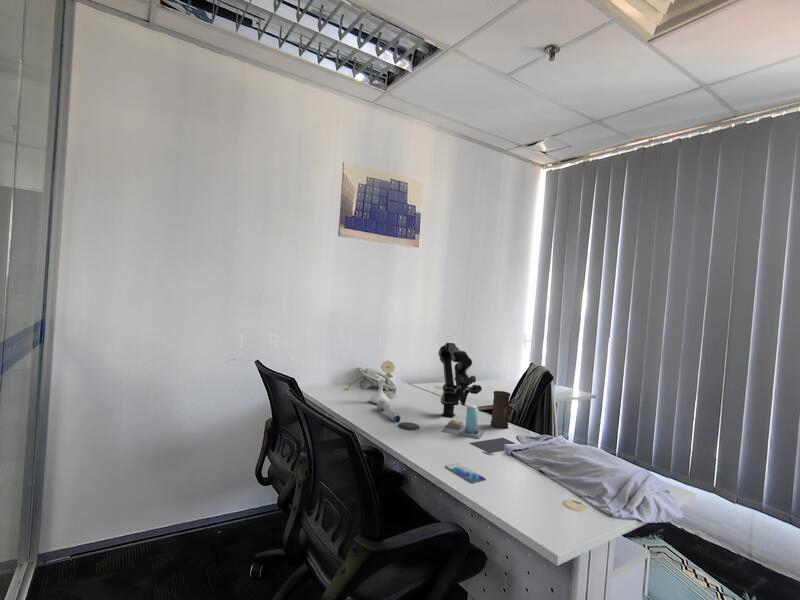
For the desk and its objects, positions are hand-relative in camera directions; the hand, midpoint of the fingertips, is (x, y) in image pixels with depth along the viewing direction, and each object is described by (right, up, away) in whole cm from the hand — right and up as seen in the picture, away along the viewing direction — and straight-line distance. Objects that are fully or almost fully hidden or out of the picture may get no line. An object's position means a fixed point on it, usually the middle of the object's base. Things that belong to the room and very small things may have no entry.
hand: (463, 405), depth 202 cm
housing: (-1, -12, -4) cm, 13 cm away
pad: (-27, -10, -2) cm, 28 cm away
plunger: (-4, -11, +2) cm, 11 cm away
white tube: (-37, -9, +15) cm, 41 cm away
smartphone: (-7, -12, -51) cm, 53 cm away
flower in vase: (-42, -9, +39) cm, 58 cm away
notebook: (+11, -14, -21) cm, 27 cm away
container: (+19, -14, +8) cm, 25 cm away
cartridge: (+2, -11, -8) cm, 14 cm away
